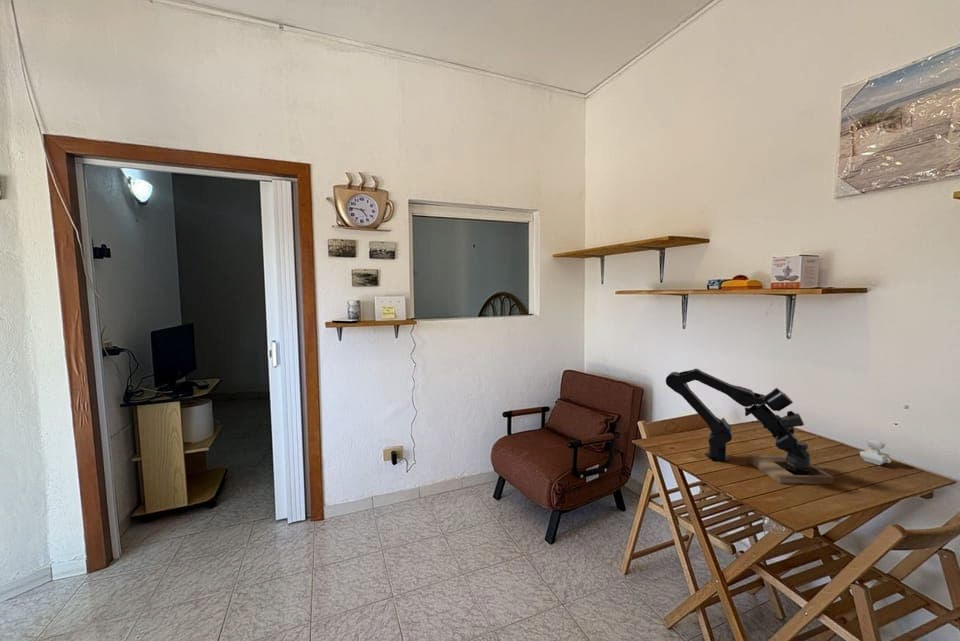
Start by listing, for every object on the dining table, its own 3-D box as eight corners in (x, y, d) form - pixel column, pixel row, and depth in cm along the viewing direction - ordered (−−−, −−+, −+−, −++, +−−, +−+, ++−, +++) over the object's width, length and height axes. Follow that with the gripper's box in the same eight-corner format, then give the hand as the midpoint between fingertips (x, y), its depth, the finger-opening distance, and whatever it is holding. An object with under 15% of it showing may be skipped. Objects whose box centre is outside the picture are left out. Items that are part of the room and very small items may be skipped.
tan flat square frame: (748, 461, 154) (748, 455, 154) (795, 461, 153) (796, 455, 153) (779, 483, 137) (780, 476, 137) (833, 483, 137) (833, 476, 136)
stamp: (894, 465, 150) (896, 444, 149) (886, 469, 147) (888, 447, 146) (863, 456, 158) (864, 436, 157) (855, 459, 155) (857, 439, 154)
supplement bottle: (813, 480, 139) (815, 447, 138) (790, 477, 141) (792, 445, 140) (803, 471, 146) (805, 440, 145) (781, 469, 148) (783, 438, 147)
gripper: (789, 412, 136) (830, 451, 130) (785, 399, 151) (821, 433, 146) (760, 430, 141) (798, 468, 136) (759, 416, 156) (793, 449, 151)
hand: (803, 453), depth 142 cm, fingers open, 9 cm apart
